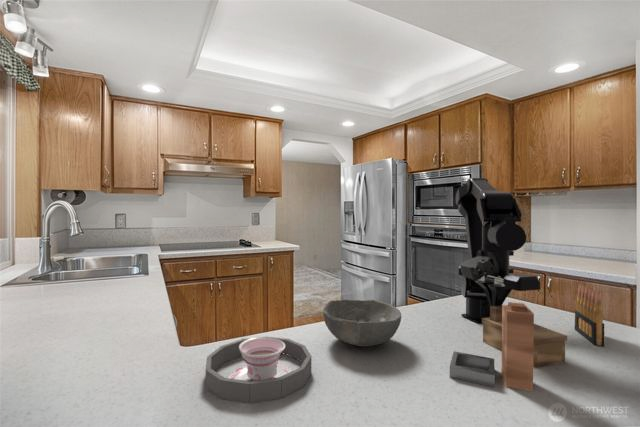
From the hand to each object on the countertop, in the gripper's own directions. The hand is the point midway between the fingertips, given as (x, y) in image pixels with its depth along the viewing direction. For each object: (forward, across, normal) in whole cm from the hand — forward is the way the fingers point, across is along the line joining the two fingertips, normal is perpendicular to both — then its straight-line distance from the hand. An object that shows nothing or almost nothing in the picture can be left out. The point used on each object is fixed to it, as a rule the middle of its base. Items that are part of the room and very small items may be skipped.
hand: (494, 312), depth 78 cm
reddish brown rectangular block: (+6, +17, -12) cm, 22 cm away
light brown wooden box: (+6, +7, 0) cm, 9 cm away
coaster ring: (+6, +1, -55) cm, 55 cm away
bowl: (+7, -7, -31) cm, 32 cm away
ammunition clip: (+6, +5, +22) cm, 24 cm away
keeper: (+6, +12, -17) cm, 22 cm away
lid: (+2, +7, 0) cm, 7 cm away
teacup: (+7, +4, -55) cm, 55 cm away
